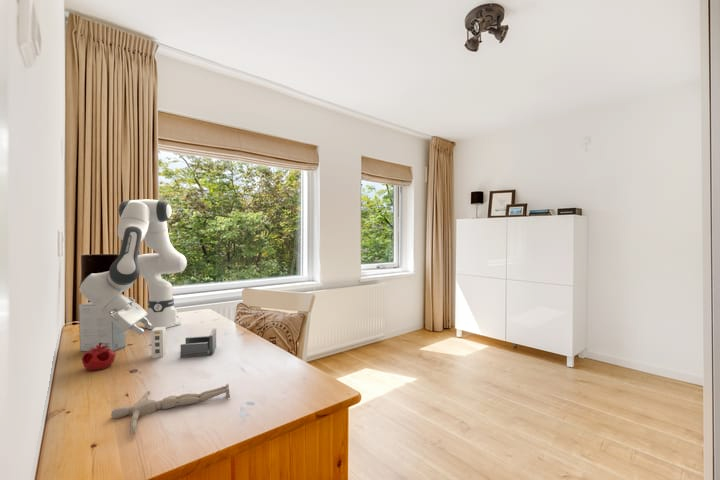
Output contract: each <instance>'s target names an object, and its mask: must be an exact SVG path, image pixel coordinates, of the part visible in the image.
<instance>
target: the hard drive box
mask: <svg viewBox="0 0 720 480" xmlns="http://www.w3.org/2000/svg"><path fill="white" fill-rule="evenodd" d="M78 321H79V322H78V327H79V331H78V332H79V351H80V352H87V351H89V350H91V349H92V348H96V345H98V347H99V343H101V342H102V344H101V347H103V346H104V347H105V345H106V346H110V347H105V348H109V349H111V350H113V351H114V352H115V351H117V350H120V349H122V348H124V347H126V344H127V343H126V342H127V341H126V331H122V330H121V329H119V328H118V327H117V326H116V325H115V324H114V323H113V322H112V321H111V319H110V317H109V316H108V315H106V314H105V313H104V312H103V311H101V309H100V308H99V307H98V306H97V305H95V304H93V303H91V302H90V301H89V302H85V303H80V304H78ZM89 348H90V349H89Z"/></svg>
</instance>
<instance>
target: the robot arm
mask: <svg viewBox="0 0 720 480" xmlns="http://www.w3.org/2000/svg"><path fill="white" fill-rule="evenodd" d="M118 214H119V217H120V218H119V221H118V225H117V236H118V238H119V239H120V241H121V240H122V241H121V246H120V251H119V253H118V257H116V259H114V261H113V262H112V263H111V265H110V266H109V270H108V271H103V272H97V273H93V272H92V273H90V274H88V275H87V276H86V277H85V278H84V279H83V280H82V281H81V282H80V285H79V286H78V288H79V289H78V290H79V292H80V293H81V295H82V296H83V297H84V298H85V299H86V300H88V301H89V302H91V303H93V304H95V305H97V306H98V307H99V308H100V309H101V311H103V312H104V313H105V314H106V315H108V316H109V317H110V319H111V321H112V322H113V323H114V324H115V325H116V326H117V327H118V328H119V329H121V330H122V331H125V332H127V331H128V330H130V331H131V332H134V333H136V334H137V335H139V336H141V335H143V333H145V330H144V328H145V329H149V330H153V329H154V328H155V327H166V329H169V328H172V327H174V326H180V325H182V317H181V316H179V315H178V312H177V311H178V310H177V308H176V307H175V298H174V297H173V296H174V295H173V284H172V283H171V282H170V281H168V280H166V279H164V278H162V276H161V275H162V274H164V275H165V274H177V273H182V272H184V271H185V269H186V268H187V266H188V265H187V264H188V260H187V258H186V257H185V255H184V254H183V253H181V252H179V251H178V250H176V249H175V247H174V246H173V245H172V243H171V240H170V236H169V229H168V223H167V221H168V220H170V218H171V217H172V207H171V204H170V203H169V202H168V201H167V200H164V199H163V200H162V199H159V200H157V199H150V198H149V199H148V198H145V199H133V200H132V199H126V200H124V201H122V202H121V203H120V204H119V206H118ZM143 241H144V244H145V246H146V247H147V248H149V249H151V250H153V251H154V252H156V253H152V252H151V253H150V252H149V253H143V254H139V253H140V247H141V243H142V242H143ZM140 276H141V277H142V278H143V280H144V281H145V282H146V285H147V289H148V300H147V309H144V308H143V307H142V306H141V305H140V304H139V303H137V302H136V300H135V299H134V298H133V297H129V296H125V295H124V294H123V293H125V291H127V290H129V289H131V288H132V286H133V285H134V283H135V282H136V280H137V279H138V278H139V277H140ZM138 323H140V324H141V327H140V326H138V325H137V324H138Z"/></svg>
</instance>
